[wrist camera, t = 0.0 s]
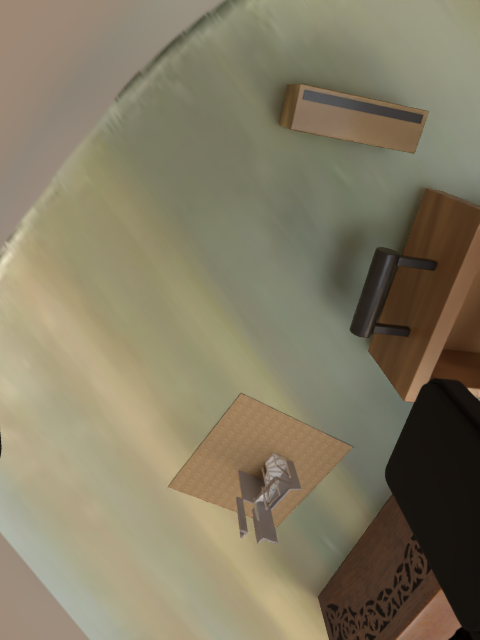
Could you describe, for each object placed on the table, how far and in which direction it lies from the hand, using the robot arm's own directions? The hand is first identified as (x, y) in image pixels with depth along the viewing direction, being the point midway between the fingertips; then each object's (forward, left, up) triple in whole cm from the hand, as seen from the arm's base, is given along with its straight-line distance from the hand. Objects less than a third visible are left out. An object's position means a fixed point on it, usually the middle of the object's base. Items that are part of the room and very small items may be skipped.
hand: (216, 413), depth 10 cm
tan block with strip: (-7, +9, -23) cm, 26 cm away
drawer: (+4, +20, -22) cm, 30 cm away
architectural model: (+20, +7, -23) cm, 32 cm away
